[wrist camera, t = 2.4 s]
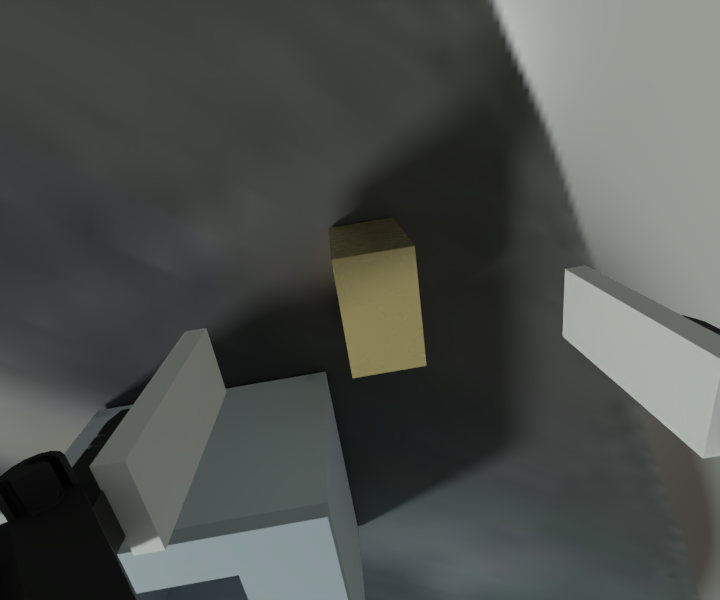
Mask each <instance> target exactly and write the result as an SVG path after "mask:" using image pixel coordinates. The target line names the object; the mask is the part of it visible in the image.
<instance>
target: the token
mask: <svg viewBox="0 0 720 600" xmlns="http://www.w3.org/2000/svg"><path fill="white" fill-rule="evenodd" d="M329 235H330V250H331V262H332V267H333V273H334V278H335V284H336V289H337V295H338V300H339V306H340V312H341V317H342V323H343V328H344V334H345V339H346V345H347V350H348V356H349V361H350V367H351V372H352V378H358V377H364V376H370V375H375V374H381V373H387V372H393V371H399V370H405V369H410V368H416V367H422V366H426V355H425V345H424V335H423V325H422V315H421V305H420V294H419V284H418V274H417V264H416V254H415V246H414V244H413V243H412V242H411V240H410V239H409V238H408V236H407V235H406V234H405V232H404V231H403V230H402V229H401V227H400V226H399V225H398V223H397V222H396V221H395V219H394V218H393V217H392V218H386V219H380V220H374V221H368V222H362V223H356V224H350V225H343V226H337V227H331V228H329Z"/></svg>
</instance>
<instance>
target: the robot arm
mask: <svg viewBox="0 0 720 600" xmlns="http://www.w3.org/2000/svg"><path fill="white" fill-rule="evenodd" d="M563 337H564V338H565V339H566V340H567V341H569V342H570V343H571V344H572V345H573V346H574V347H575V348H577V349H578V350H579V351H580V352H581V353H582V354H584V355H585V356H586V357H587V358H588V359H589V360H590V361H592V362H593V363H594V364H595V365H596V366H597V367H598V368H600V369H601V370H602V371H603V372H604V373H605V374H607V375H608V376H609V377H610V378H611V379H612V380H613V381H615V382H616V383H617V384H618V385H619V386H620V387H621V388H623V389H624V390H625V391H626V392H627V393H628V394H630V395H631V396H632V397H633V398H634V399H635V400H636V401H638V402H639V403H640V404H641V405H642V406H643V407H644V408H646V409H647V410H648V411H649V412H650V413H651V414H653V415H654V416H655V417H656V418H657V419H658V420H659V421H661V422H662V423H663V424H664V425H665V426H666V427H667V428H669V429H670V430H671V431H672V432H673V433H674V434H676V435H677V436H678V437H679V438H680V439H681V440H682V441H684V442H685V443H686V444H687V445H688V446H689V447H690V448H692V449H693V450H694V451H695V452H696V453H697V454H699V455H700V456H701V457H702V458H703V459H704V458H709V457H716V456H720V329H718V328H716V327H714V326H712V325H711V324H709V323H707V322H704V321H701V320H698V319H694V318H691V317H687V316H684V315H680V314H678V313H676V312H674V311H672V310H670V309H668V308H666V307H664V306H662V305H661V304H659V303H657V302H655V301H653V300H651V299H649V298H647V297H645V296H643V295H641V294H639V293H637V292H636V291H633V290H632V289H630V288H628V287H626V286H624V285H622V284H620V283H618V282H616V281H614V280H612V279H610V278H609V277H606V276H605V275H603V274H601V273H599V272H597V271H595V270H593V269H591V268H589V267H587V266H580V267H574V268H568V269H565V283H564V310H563ZM225 395H226V389H225V386H224V382H223V379H222V376H221V373H220V370H219V367H218V363H217V360H216V357H215V354H214V351H213V348H212V344H211V341H210V338H209V335H208V332H207V329H206V328H203V329H197V330H191V331H185V332H184V334H183V335H182V337H181V338H180V339H179V341H178V342H177V344H176V345H175V346H174V348H173V349H172V351H171V352H170V353H169V355H168V356H167V358H166V359H165V361H164V362H163V363H162V365H161V366H160V368H159V369H158V370H157V372H156V373H155V375H154V376H153V377H152V379H151V380H150V382H149V383H148V384H147V386H146V387H145V389H144V390H143V392H142V393H141V394H140V396H139V397H138V399H137V400H136V401H135V403H134V404H133V406H132V407H131V408H130V409H124V410H121V411H120V412H119V413H117V414H116V415H115V416H114V417H112V418H111V419H110V420H109V421H107V422H106V423H105V425H104V426H103V427H102V429H101V430H100V431H99V433H98V434H97V437H96V438H94V439H93V441H92V442H91V443H90V444H89V448H87V449H86V450H85V451H84V452H83V454H82V455H81V456H80V458H79V459H78V460H77V462H76V463H75V464H74V466H73V467H71V465H70V463H69V461H68V459H67V458H66V456H65V455H64V454H63V453H62V452H60V451H49V452H45V453H40V454H37V455H35V456H32V457H30V458H28V459H25V460H23V461H22V462H20V463H18V464H17V465H15V466H13V467H11V468H10V469H9V470H8V471H6V472H5V473H4V474H3V475H1V476H0V510H1V511H2V513H3V515H4V516H5V518H6V519H7V521H8V522H6V523H3V524H1V525H0V600H139V598H138V596H137V594H136V592H135V590H134V588H133V586H132V584H131V582H130V580H129V577H128V575H127V573H126V571H125V569H124V567H123V565H122V563H121V561H120V559H119V558H118V556H117V553H118V551H119V549H120V547H121V545H122V543H123V541H124V539H126V541H127V543H128V545H129V547H130V549H131V551H132V553H133V555H134V556H135V555H141V554H147V553H152V552H158V551H164V550H166V548H167V545H168V543H169V540H170V537H171V535H172V532H173V530H174V527H175V524H176V522H177V519H178V517H179V514H180V511H181V509H182V506H183V504H184V501H185V498H186V496H187V493H188V491H189V488H190V486H191V483H192V480H193V478H194V475H195V473H196V470H197V467H198V465H199V462H200V460H201V457H202V454H203V452H204V449H205V447H206V444H207V441H208V439H209V436H210V434H211V431H212V428H213V426H214V423H215V421H216V418H217V415H218V413H219V410H220V408H221V405H222V403H223V400H224V397H225Z"/></svg>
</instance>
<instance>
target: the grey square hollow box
mask: <svg viewBox="0 0 720 600" xmlns="http://www.w3.org/2000/svg"><path fill="white" fill-rule="evenodd" d="M132 406H133V405H128V406H122V407H116V408H110V409H104V410H98V411H97V413H96V414H95V415H94V417H93V418H92V419H91V420H90V422H89V423H88V424H87V426H86V427H85V428H84V429H83V431H82V432H81V433H80V435H79V436H78V437H77V438H76V440H75V441H74V442H73V444H72V445H71V446H70V447H69V449H68V450H67V451H66V453H65V454H64V455H65V456H66V458H67V459H68V461H69V463H70V465H71V467H73V466H74V464H75V463H76V462H77V460H78V459H79V458H80V456H81V455H82V454H83V452H84V451H85V450H86V449H87V448H89V444H90V443H91V442H92V441H93V439H94V438H96V437H97V434H98V433H99V431H100V430H101V429H102V427H103V426H104V425H105V423H106V422H107V421H109V420H110V419H111V418H112V417H114V416H115V415H116V414H117V413H119V412H120V411H121V410H124V409H130V408H131V407H132ZM117 556H118V558H119V559H120V561H121V563H122V565H123V567H124V569H125V571H126V573H127V575H128V577H129V580H130V582H131V584H132V586H133V588H134V590H135V592H136V594H137V596H138V598H139V600H365V595H364V584H363V573H362V562H361V551H360V540H359V530H358V525H357V520H356V515H355V511H354V506H353V501H352V496H351V491H350V487H349V482H348V477H347V472H346V467H345V463H344V458H343V453H342V448H341V444H340V439H339V434H338V429H337V424H336V420H335V415H334V410H333V405H332V400H331V396H330V391H329V386H328V381H327V376H326V372H321V373H315V374H309V375H303V376H297V377H291V378H286V379H280V380H274V381H268V382H262V383H256V384H250V385H245V386H239V387H233V388H227V389H226V395H225V397H224V400H223V403H222V405H221V408H220V410H219V413H218V415H217V418H216V421H215V423H214V426H213V428H212V431H211V434H210V436H209V439H208V441H207V444H206V447H205V449H204V452H203V454H202V457H201V460H200V462H199V465H198V467H197V470H196V473H195V475H194V478H193V480H192V483H191V486H190V488H189V491H188V493H187V496H186V498H185V501H184V504H183V506H182V509H181V511H180V514H179V517H178V519H177V522H176V524H175V527H174V530H173V532H172V535H171V537H170V540H169V543H168V545H167V548H166V550H164V551H158V552H152V553H147V554H141V555H135V556H134V555H133V553H132V551H131V549H130V547H129V545H128V543H127V541H126V539H124V541H123V543H122V545H121V547H120V549H119V551H118V553H117Z"/></svg>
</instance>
